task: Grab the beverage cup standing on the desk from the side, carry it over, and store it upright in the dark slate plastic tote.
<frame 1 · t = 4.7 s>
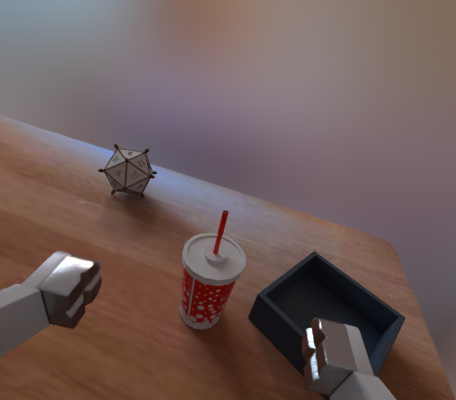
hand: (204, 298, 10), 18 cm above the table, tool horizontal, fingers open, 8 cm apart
beverage cup: (200, 311, 30), on the table
tote: (318, 328, 31), on the table
game die: (129, 192, 46), on the table
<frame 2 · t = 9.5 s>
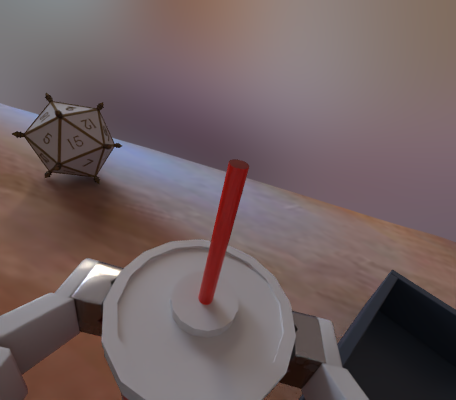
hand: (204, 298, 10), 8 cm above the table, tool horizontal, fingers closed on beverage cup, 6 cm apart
game die: (77, 176, 29), on the table
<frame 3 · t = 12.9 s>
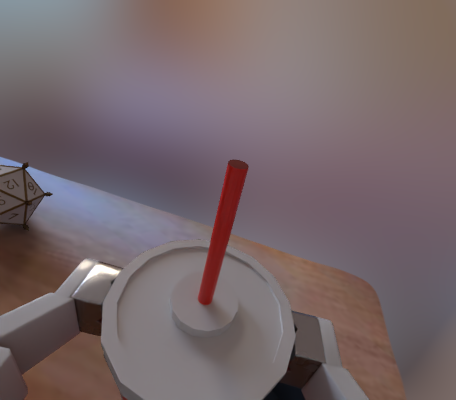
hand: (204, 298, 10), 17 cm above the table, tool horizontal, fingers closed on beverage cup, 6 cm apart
game die: (11, 222, 33), on the table
when the fingers open (9 cm above the table, at t = 16.4 s): beverage cup stays where it is, resting on tote.
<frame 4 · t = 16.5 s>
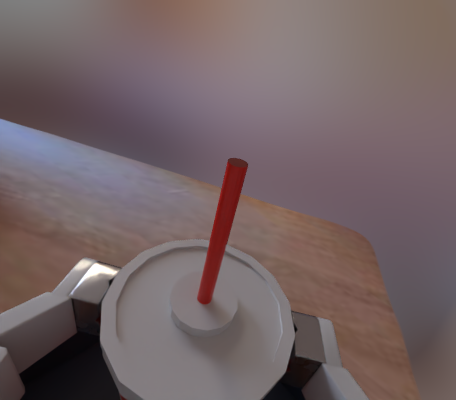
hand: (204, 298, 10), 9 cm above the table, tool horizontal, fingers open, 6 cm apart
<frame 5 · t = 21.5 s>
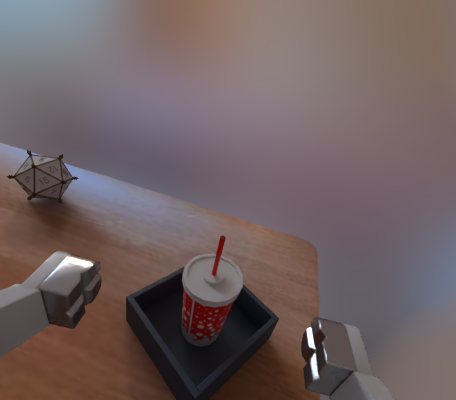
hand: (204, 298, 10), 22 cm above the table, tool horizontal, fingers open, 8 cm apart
beverage cup: (200, 327, 31), point 1 cm above the table, touching tote
tote: (199, 329, 31), on the table
game die: (49, 198, 46), on the table
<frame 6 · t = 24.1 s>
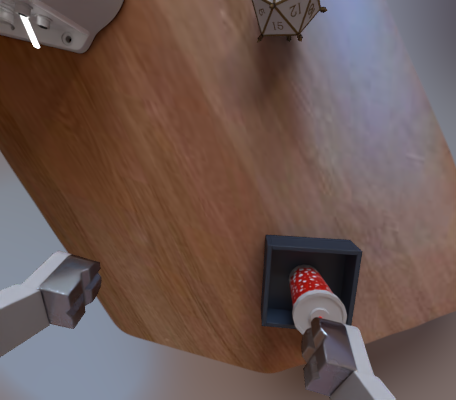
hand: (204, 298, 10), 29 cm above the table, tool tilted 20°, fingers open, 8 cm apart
beverage cup: (304, 278, 39), point 1 cm above the table, touching tote
tote: (303, 275, 40), on the table
game die: (281, 18, 34), on the table
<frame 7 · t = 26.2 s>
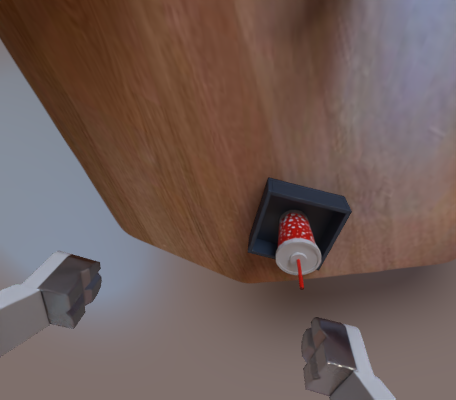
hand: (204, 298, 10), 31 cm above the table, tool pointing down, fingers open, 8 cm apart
beverage cup: (293, 220, 44), point 1 cm above the table, touching tote
tote: (293, 217, 44), on the table
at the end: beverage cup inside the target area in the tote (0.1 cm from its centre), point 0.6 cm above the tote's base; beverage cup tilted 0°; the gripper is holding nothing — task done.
